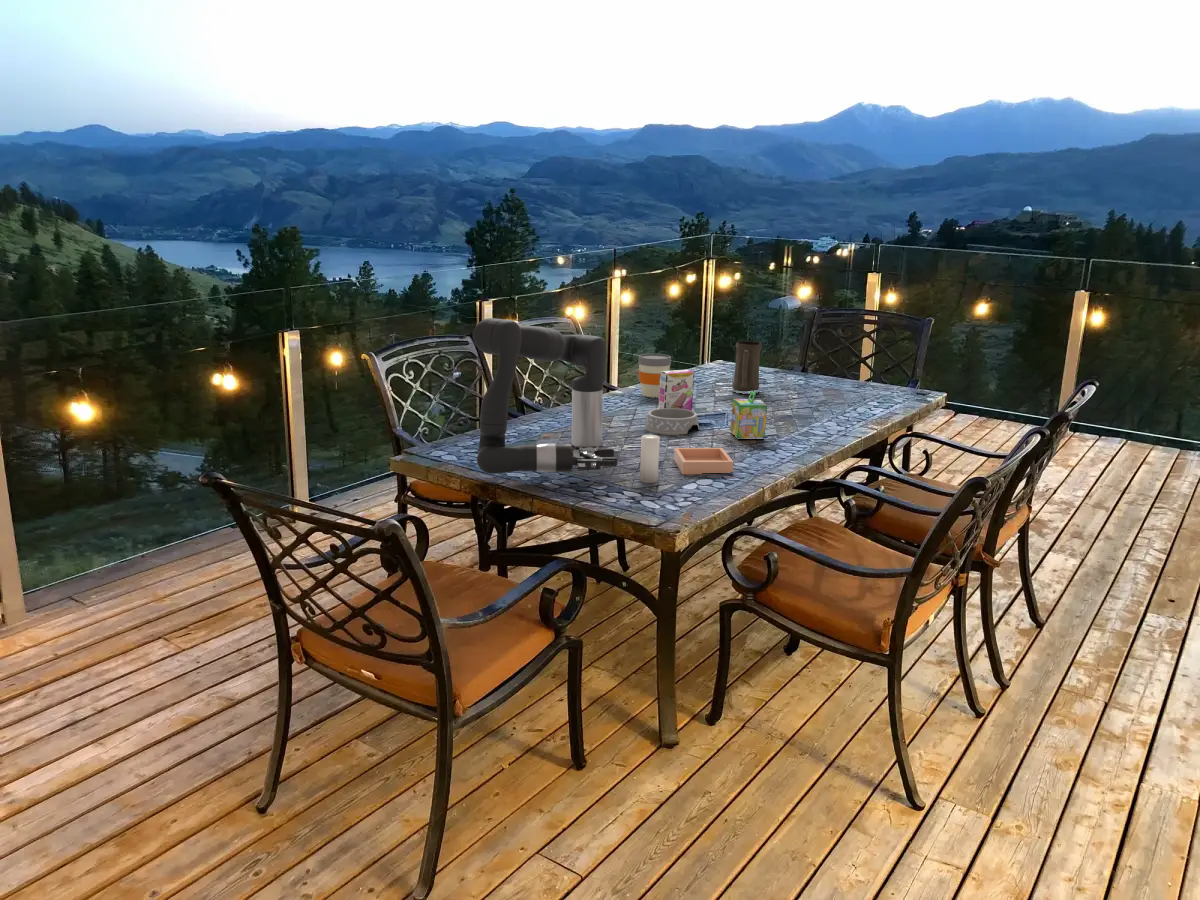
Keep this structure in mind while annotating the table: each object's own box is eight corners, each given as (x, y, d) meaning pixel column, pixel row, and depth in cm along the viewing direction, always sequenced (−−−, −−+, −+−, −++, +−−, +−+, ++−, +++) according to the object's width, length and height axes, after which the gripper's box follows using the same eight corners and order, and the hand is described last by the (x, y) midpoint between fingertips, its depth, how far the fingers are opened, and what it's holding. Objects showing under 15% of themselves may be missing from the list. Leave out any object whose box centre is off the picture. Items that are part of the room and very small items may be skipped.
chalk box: (729, 433, 285) (732, 388, 281) (757, 433, 286) (760, 388, 282) (736, 440, 276) (739, 394, 272) (765, 440, 277) (768, 394, 273)
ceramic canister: (638, 477, 237) (640, 434, 234) (656, 477, 238) (658, 434, 235) (641, 483, 233) (642, 439, 229) (659, 483, 233) (660, 439, 230)
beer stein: (731, 388, 353) (734, 339, 346) (758, 389, 352) (761, 339, 345) (732, 398, 339) (735, 348, 332) (760, 400, 338) (764, 348, 331)
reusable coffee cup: (637, 398, 332) (639, 358, 328) (636, 391, 344) (637, 353, 340) (671, 398, 332) (672, 359, 328) (668, 391, 344) (670, 353, 340)
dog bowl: (634, 429, 289) (634, 413, 287) (667, 419, 302) (667, 404, 301) (677, 438, 278) (677, 422, 277) (709, 428, 292) (709, 412, 290)
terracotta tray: (673, 459, 254) (674, 448, 253) (721, 459, 256) (722, 447, 255) (682, 474, 241) (683, 462, 240) (732, 473, 242) (733, 461, 241)
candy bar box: (664, 421, 299) (666, 373, 294) (657, 417, 303) (659, 370, 298) (692, 418, 303) (695, 371, 299) (685, 415, 308) (687, 368, 303)
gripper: (555, 451, 223) (618, 451, 225) (553, 436, 237) (613, 436, 238) (555, 479, 225) (618, 479, 227) (553, 463, 239) (612, 463, 241)
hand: (615, 457), depth 233 cm, fingers open, 8 cm apart
